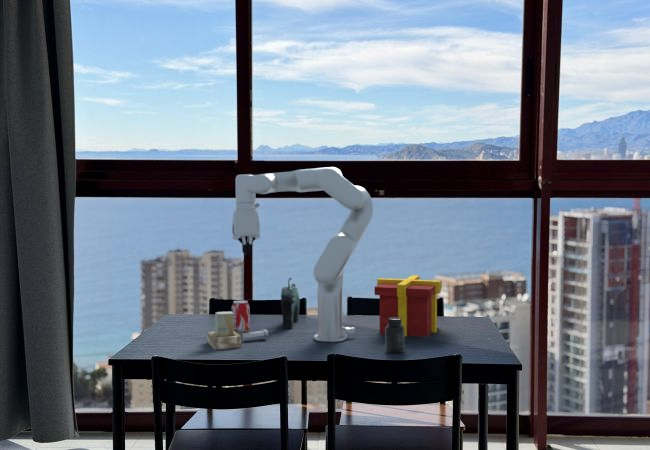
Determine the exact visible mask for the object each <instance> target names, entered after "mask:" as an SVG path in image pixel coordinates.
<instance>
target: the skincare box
mask: <svg viewBox="0 0 650 450" xmlns="http://www.w3.org/2000/svg"><path fill="white" fill-rule="evenodd" d="M214 317H215V318H214V320H215V321H214V324H215V326H214V327H215V331H214V332H215V336H216V337H217V338H218V337H230V336H234V313H233V312H232V310H231V311H217V312H215V315H214Z"/></svg>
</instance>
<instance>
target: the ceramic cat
mask: <svg viewBox="0 0 650 450" xmlns="http://www.w3.org/2000/svg"><path fill="white" fill-rule="evenodd" d="M292 279H293V278H292V277H289V278H288V280H287V281H288V283H287V284H288V286H283V287H282V288H281V292H280V293H281V294H280V304H281V315H282V328H283V330H292V329H293V327H294V323H296V322H297V323H298V322H299V315H300V304H301V301H300V295H299V290H298V288H297V287H296V284H295V283H292V284H290V282H291V280H292Z"/></svg>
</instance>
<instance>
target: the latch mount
mask: <svg viewBox="0 0 650 450" xmlns="http://www.w3.org/2000/svg"><path fill="white" fill-rule="evenodd" d="M234 331H235V332H236V333H237V334H239V335H240V336H241V344H244V343H245V341H244V338H243V333H244V332H240V330H239V329H236V330H234Z"/></svg>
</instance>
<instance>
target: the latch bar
mask: <svg viewBox="0 0 650 450" xmlns="http://www.w3.org/2000/svg"><path fill="white" fill-rule="evenodd" d="M269 335H270V331H268V330H267V329H264V328H263V329H261V330H257V331H250V332H249V331H247V332H243V339H245V338H246V339H247V338H255V337H261V336H262V337H263V336H265V337H268V336H269Z"/></svg>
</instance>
